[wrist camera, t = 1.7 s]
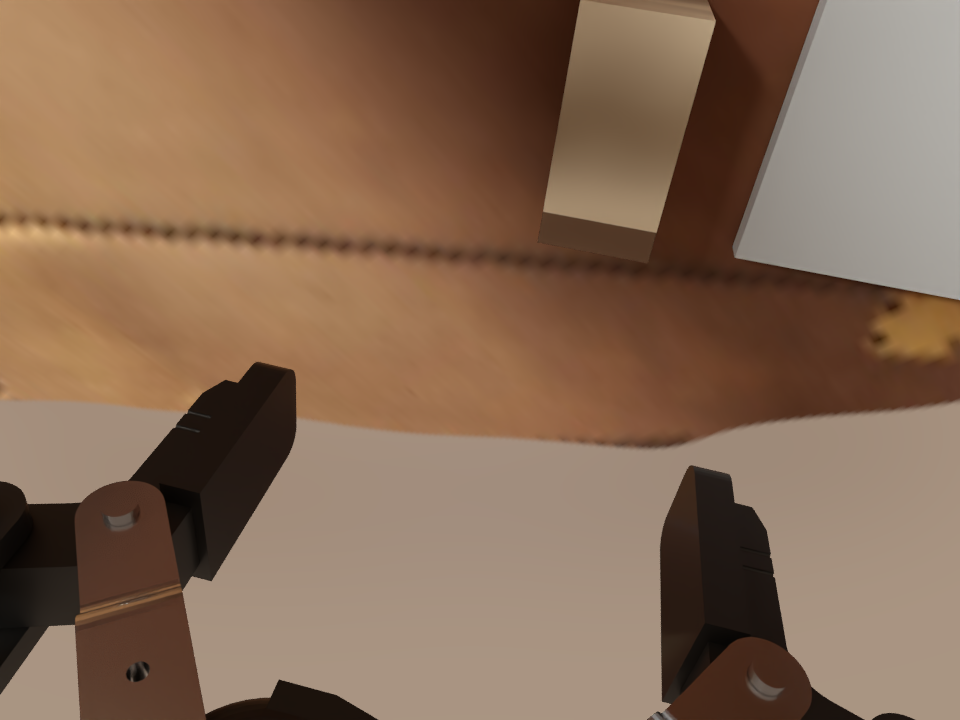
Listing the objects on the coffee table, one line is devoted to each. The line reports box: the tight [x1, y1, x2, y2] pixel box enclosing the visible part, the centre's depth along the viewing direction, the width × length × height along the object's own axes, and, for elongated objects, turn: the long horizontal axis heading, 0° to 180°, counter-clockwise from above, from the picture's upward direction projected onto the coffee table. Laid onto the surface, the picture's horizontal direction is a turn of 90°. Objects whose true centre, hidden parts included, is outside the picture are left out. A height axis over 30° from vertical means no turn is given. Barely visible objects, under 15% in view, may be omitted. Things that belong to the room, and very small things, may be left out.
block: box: [538, 0, 716, 263], centre depth 25 cm, size 8×4×4 cm, turn 173°
